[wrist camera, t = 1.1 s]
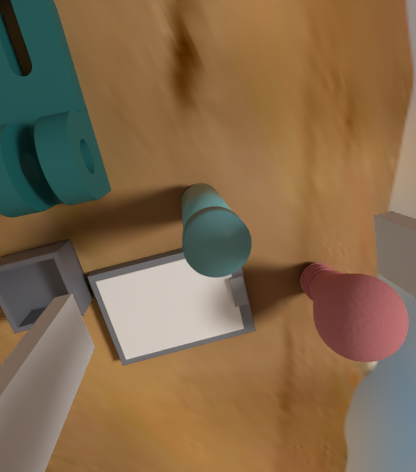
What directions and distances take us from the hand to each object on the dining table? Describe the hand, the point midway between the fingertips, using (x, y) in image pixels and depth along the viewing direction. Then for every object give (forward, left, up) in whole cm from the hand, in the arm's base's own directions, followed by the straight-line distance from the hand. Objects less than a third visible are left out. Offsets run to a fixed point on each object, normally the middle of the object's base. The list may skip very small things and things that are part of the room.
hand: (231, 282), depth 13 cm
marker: (0, 0, -18) cm, 18 cm away
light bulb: (+11, +10, -18) cm, 24 cm away
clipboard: (+10, -5, -18) cm, 21 cm away
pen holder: (+4, -17, -18) cm, 25 cm away
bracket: (-12, -11, -19) cm, 25 cm away
